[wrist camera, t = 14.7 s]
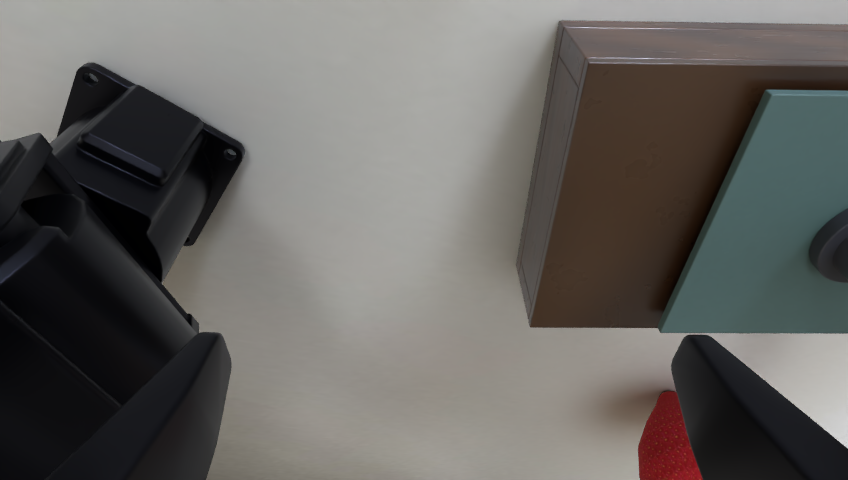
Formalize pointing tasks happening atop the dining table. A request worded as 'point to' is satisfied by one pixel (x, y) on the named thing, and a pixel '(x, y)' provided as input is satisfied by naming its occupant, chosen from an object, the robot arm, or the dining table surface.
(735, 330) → the peg plate
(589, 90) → the sliding lid box
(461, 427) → the dining table surface
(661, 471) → the strawberry
